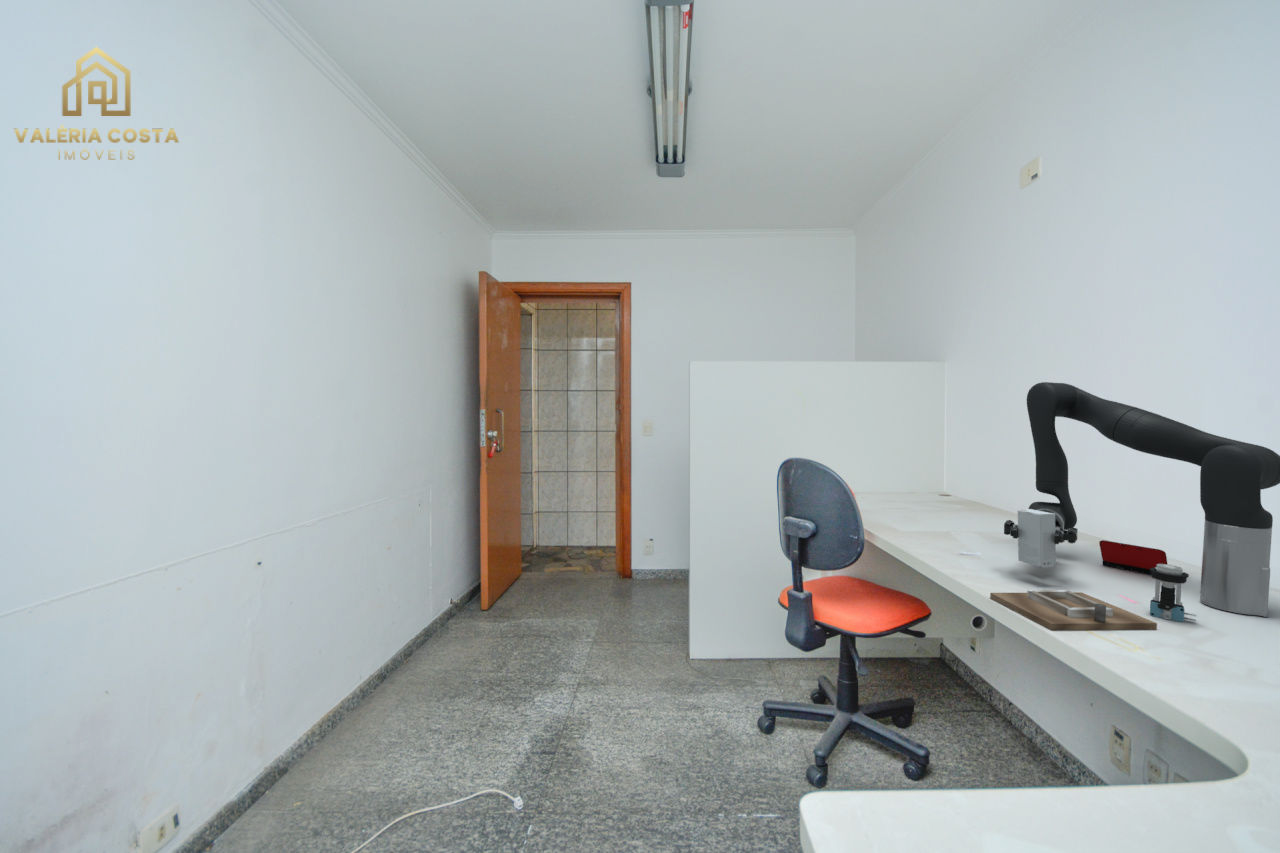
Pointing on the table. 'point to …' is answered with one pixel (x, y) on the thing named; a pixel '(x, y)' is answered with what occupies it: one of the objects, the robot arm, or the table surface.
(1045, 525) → the skincare box
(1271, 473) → the robot arm
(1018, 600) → the keyed plate
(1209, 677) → the table surface
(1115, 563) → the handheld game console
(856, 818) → the table surface
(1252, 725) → the table surface
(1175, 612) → the push button
